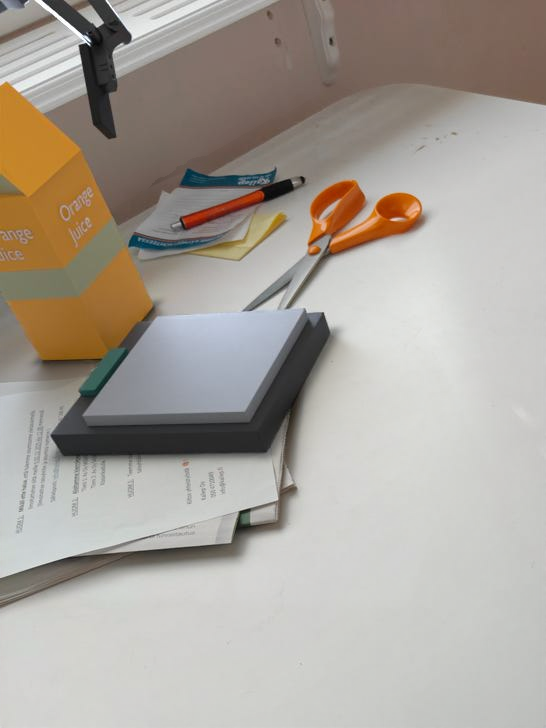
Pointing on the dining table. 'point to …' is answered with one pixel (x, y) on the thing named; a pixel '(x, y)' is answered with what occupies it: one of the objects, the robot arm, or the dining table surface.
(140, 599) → the dining table surface
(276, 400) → the scale
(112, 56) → the robot arm
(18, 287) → the orange juice
